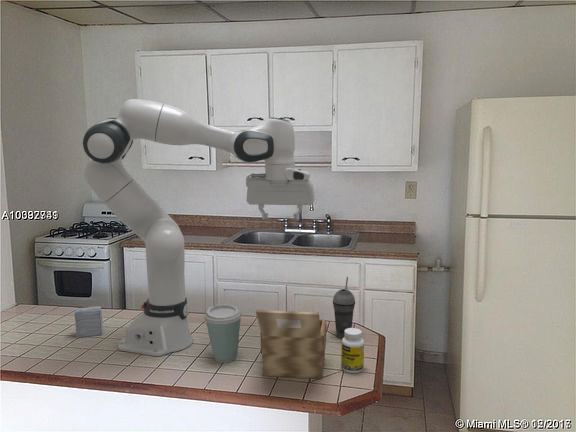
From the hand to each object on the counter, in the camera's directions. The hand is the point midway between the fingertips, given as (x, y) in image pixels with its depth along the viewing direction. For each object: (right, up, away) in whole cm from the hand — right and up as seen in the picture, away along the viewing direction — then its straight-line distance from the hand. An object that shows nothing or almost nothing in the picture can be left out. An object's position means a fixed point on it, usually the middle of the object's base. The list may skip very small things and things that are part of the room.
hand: (280, 219), depth 146 cm
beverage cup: (+20, -38, +11) cm, 44 cm away
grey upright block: (-63, -38, +14) cm, 75 cm away
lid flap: (+3, -26, -22) cm, 35 cm away
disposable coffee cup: (-16, -41, -4) cm, 44 cm away
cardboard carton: (+4, -41, -10) cm, 43 cm away
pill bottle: (+20, -42, -11) cm, 47 cm away
